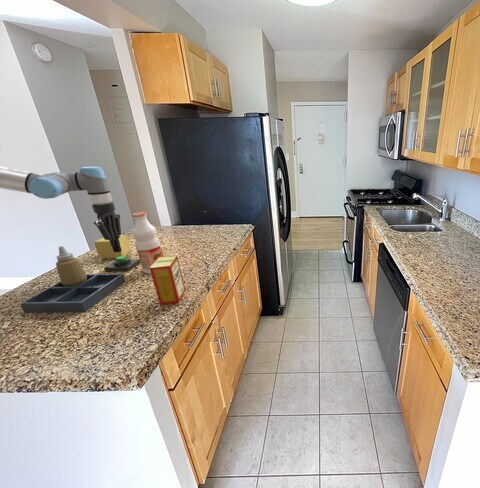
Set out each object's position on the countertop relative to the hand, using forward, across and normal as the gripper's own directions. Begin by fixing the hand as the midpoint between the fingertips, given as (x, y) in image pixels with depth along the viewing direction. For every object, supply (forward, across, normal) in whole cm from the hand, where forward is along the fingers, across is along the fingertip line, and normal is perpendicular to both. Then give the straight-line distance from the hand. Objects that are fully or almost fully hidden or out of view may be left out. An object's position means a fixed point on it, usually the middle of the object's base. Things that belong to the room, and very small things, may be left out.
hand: (117, 251), depth 124 cm
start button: (+5, 0, 0) cm, 5 cm away
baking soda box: (+9, +27, +38) cm, 48 cm away
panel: (+9, 0, 0) cm, 9 cm away
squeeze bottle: (+8, +20, -5) cm, 22 cm away
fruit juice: (+9, +3, +17) cm, 19 cm away
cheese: (+9, -15, -14) cm, 22 cm away
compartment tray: (+9, +25, 0) cm, 26 cm away
